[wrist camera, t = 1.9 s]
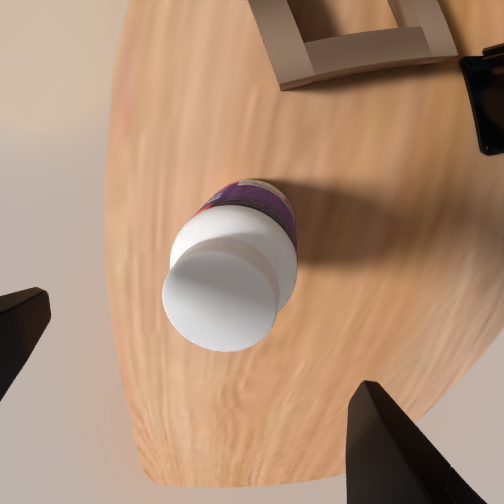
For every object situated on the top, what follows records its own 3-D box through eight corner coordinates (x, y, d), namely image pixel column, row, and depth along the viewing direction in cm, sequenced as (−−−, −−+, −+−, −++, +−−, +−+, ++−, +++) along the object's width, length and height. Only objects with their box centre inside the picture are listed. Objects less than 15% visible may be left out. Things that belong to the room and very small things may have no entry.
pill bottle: (219, 167, 18) (154, 208, 9) (307, 193, 18) (324, 260, 9) (199, 248, 20) (137, 340, 12) (279, 272, 21) (270, 382, 12)
